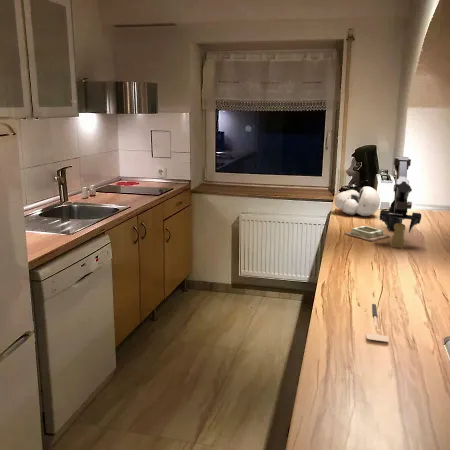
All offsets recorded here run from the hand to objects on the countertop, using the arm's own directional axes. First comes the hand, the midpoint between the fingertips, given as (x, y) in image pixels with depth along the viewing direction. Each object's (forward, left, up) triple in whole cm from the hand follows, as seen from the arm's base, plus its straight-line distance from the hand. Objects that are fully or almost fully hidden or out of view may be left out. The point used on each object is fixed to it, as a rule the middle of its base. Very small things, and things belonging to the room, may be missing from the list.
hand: (399, 231), depth 239 cm
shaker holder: (+5, -20, -7) cm, 21 cm away
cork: (0, -1, -8) cm, 8 cm away
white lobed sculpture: (-15, -64, -8) cm, 67 cm away
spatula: (+58, +73, -8) cm, 94 cm away
